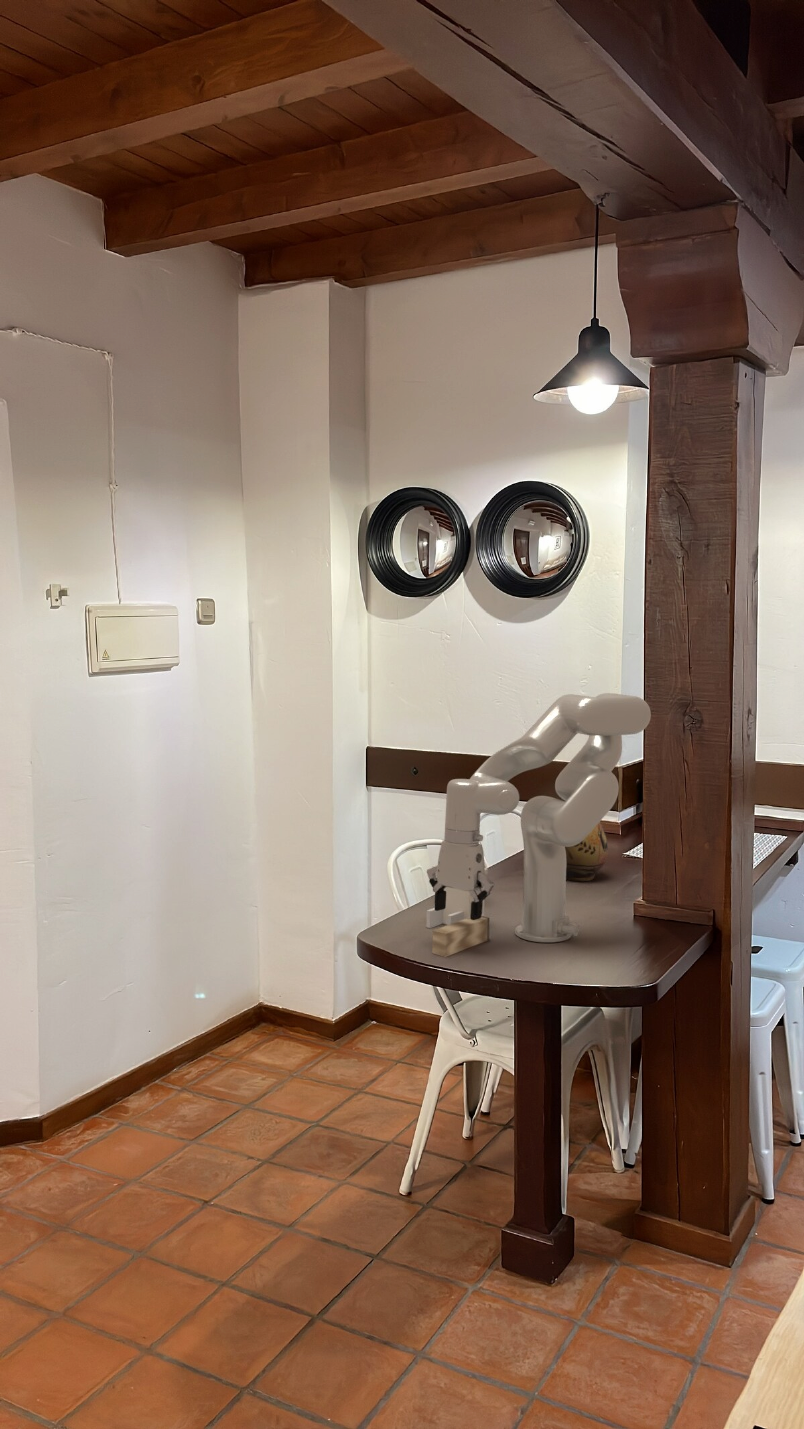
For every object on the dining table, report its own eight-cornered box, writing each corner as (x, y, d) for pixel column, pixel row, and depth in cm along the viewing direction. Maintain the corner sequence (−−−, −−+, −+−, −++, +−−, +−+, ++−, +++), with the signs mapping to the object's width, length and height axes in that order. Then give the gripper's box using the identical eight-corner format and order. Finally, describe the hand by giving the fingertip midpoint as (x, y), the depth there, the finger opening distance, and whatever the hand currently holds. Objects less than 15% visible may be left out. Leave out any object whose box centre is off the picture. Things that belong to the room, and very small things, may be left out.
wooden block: (445, 956, 228) (445, 933, 227) (432, 953, 230) (432, 930, 229) (489, 939, 240) (489, 917, 240) (476, 936, 242) (476, 914, 242)
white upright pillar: (449, 915, 259) (450, 861, 258) (487, 924, 252) (488, 868, 251) (419, 925, 250) (420, 870, 249) (457, 935, 243) (458, 877, 242)
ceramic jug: (611, 884, 290) (614, 774, 287) (554, 883, 290) (556, 773, 287) (601, 869, 307) (604, 765, 304) (546, 868, 307) (549, 765, 304)
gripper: (504, 840, 230) (500, 919, 231) (440, 828, 241) (436, 903, 242) (484, 845, 224) (480, 925, 225) (419, 832, 235) (415, 909, 236)
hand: (457, 914), depth 234 cm, fingers open, 9 cm apart
